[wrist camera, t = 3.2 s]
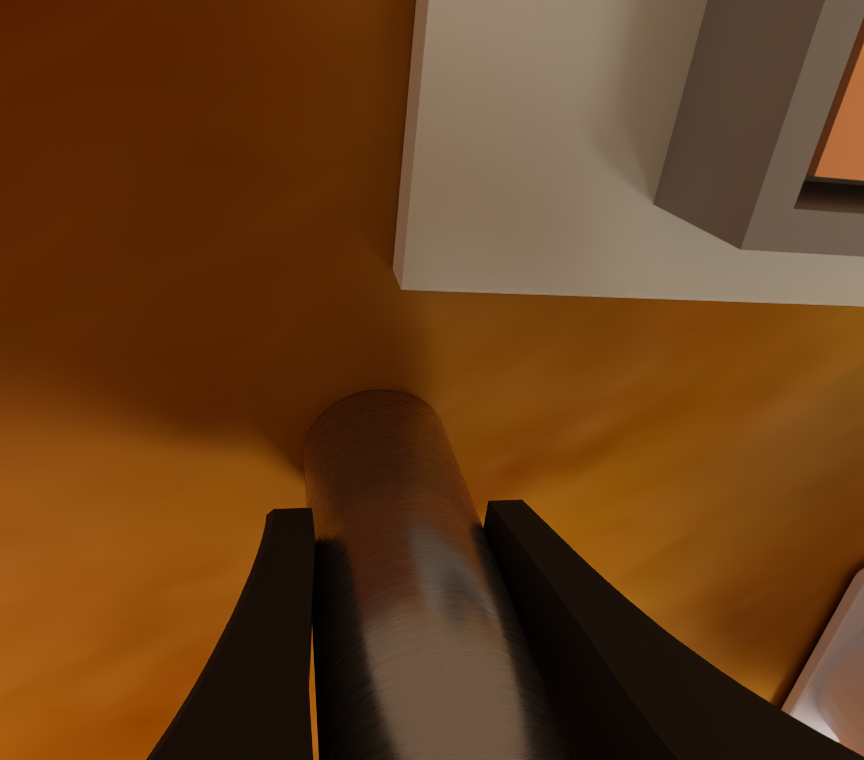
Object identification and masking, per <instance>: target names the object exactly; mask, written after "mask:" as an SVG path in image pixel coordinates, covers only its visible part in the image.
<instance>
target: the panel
mask: <svg viewBox="0 0 864 760" xmlns="http://www.w3.org/2000/svg"><path fill="white" fill-rule="evenodd" d="M863 18H864V0H416V9H415V20H414V32H413V43H412V54H411V66H410V77H409V89H408V100H407V112H406V123H405V134H404V146H403V157H402V169H401V180H400V191H399V203H398V214H397V226H396V237H395V248H394V260H393V272H394V274H395V277H396V279H397V281H398V283H399V286H400V288H401V290H421V291H448V292H476V293H504V294H532V295H560V296H588V297H615V298H643V299H671V300H699V301H727V302H755V303H782V304H810V305H838V306H864V181H862V180H850V179H839V178H828V177H816V176H812V175H808V174H807V171H808V168H809V165H810V163H811V160H812V157H813V154H814V152H815V149H816V146H817V143H818V141H819V138H820V135H821V133H822V130H823V127H824V124H825V122H826V119H827V116H828V113H829V111H830V108H831V105H832V102H833V100H834V97H835V94H836V92H837V89H838V86H839V83H840V81H841V78H842V75H843V72H844V70H845V67H846V64H847V61H848V59H849V56H850V53H851V51H852V48H853V45H854V42H855V40H856V37H857V34H858V31H859V29H860V26H861V23H862V20H863Z"/></svg>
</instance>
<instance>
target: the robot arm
mask: <svg viewBox="0 0 864 760" xmlns="http://www.w3.org/2000/svg"><path fill="white" fill-rule="evenodd" d="M483 529H484V532H485V534H486V537H487V539H488V542H489V544H490V547H491V550H492V552H493V555H494V557H495V560H496V562H497V565H498V567H499V570H500V573H501V575H502V578H503V580H504V583H505V585H506V588H507V591H508V593H509V596H510V598H511V601H512V603H513V606H514V608H515V611H516V614H517V616H518V619H519V621H520V624H521V626H522V629H523V632H524V634H525V637H526V639H527V642H528V644H529V647H530V649H531V652H532V655H533V657H534V660H535V662H536V665H537V667H538V670H539V673H540V675H541V678H542V680H543V683H544V685H545V688H546V690H547V693H548V696H549V698H550V701H551V703H552V706H553V708H554V711H555V713H556V716H557V719H558V721H559V724H560V726H561V729H562V731H563V734H564V737H565V739H566V742H567V744H568V747H569V749H570V752H571V754H572V757H573V760H864V568H863V569H861V570H860V571H859V572H858V573H857V574H856V575H855V577H854V578H853V580H852V582H851V584H850V585H849V587H848V589H847V591H846V593H845V594H844V596H843V598H842V600H841V602H840V603H839V605H838V607H837V609H836V611H835V613H834V614H833V616H832V618H831V620H830V622H829V623H828V625H827V627H826V629H825V631H824V633H823V634H822V636H821V638H820V640H819V642H818V643H817V645H816V647H815V649H814V651H813V652H812V654H811V656H810V658H809V660H808V662H807V663H806V665H805V667H804V669H803V671H802V672H801V674H800V676H799V678H798V680H797V682H796V683H795V685H794V687H793V689H792V691H791V692H790V694H789V696H788V698H787V700H786V701H785V703H784V705H783V707H782V709H779V708H777V707H776V706H774V705H773V704H771V703H769V702H768V701H766V700H765V699H763V698H761V697H760V696H758V695H757V694H755V693H754V692H752V691H750V690H749V689H747V688H746V687H744V686H742V685H741V684H739V683H738V682H736V681H735V680H733V679H732V678H730V677H729V676H727V675H726V674H724V673H723V672H721V671H720V670H719V669H717V668H716V667H714V666H713V665H712V664H710V663H709V662H707V661H706V660H705V659H703V658H702V657H701V656H699V655H698V654H696V653H695V652H694V651H692V650H691V649H689V648H688V647H687V646H685V645H684V644H683V643H681V642H680V641H678V640H677V639H676V638H675V637H673V636H672V635H671V634H669V633H668V632H667V631H666V630H664V629H663V628H662V627H660V626H659V625H658V624H657V623H656V622H654V621H653V620H652V619H651V618H650V617H648V616H647V615H646V614H645V613H643V612H642V611H641V610H640V609H639V608H637V607H636V606H635V605H634V604H633V603H631V602H630V601H629V600H628V599H627V598H626V597H624V596H623V595H622V594H621V593H620V592H619V591H618V590H616V589H615V588H614V587H613V586H612V585H611V584H610V583H609V582H607V581H606V580H605V579H604V578H603V577H602V576H601V575H600V574H599V573H598V572H597V571H595V570H594V569H593V568H592V567H591V566H590V565H589V564H588V563H587V562H586V561H585V560H584V559H583V558H582V557H580V556H579V555H578V554H577V553H576V552H575V551H574V550H573V549H572V548H571V547H570V546H569V545H568V544H567V543H566V542H565V541H564V540H563V539H562V538H561V537H560V536H559V535H558V534H557V533H556V532H555V531H554V530H553V529H552V528H551V527H550V526H549V525H547V524H546V523H545V522H544V521H543V520H542V519H541V518H540V517H539V516H538V515H537V514H536V513H535V512H534V511H533V510H532V509H531V508H530V507H529V506H528V505H527V504H526V503H525V502H524V501H523V500H500V501H488V506H487V512H486V517H485V522H484V527H483ZM314 556H315V530H314V521H313V512H312V508H292V509H273V510H272V511H271V512H270V513H269V514H267V516H266V524H265V529H264V533H263V537H262V540H261V544H260V547H259V550H258V553H257V556H256V559H255V561H254V564H253V567H252V570H251V572H250V575H249V577H248V579H247V582H246V584H245V586H244V589H243V591H242V593H241V596H240V598H239V600H238V602H237V605H236V607H235V609H234V611H233V614H232V616H231V618H230V620H229V622H228V624H227V625H226V627H225V629H224V631H223V633H222V635H221V637H220V639H219V641H218V643H217V645H216V647H215V649H214V651H213V653H212V655H211V657H210V658H209V660H208V662H207V664H206V666H205V667H204V669H203V671H202V673H201V674H200V676H199V678H198V680H197V681H196V683H195V685H194V687H193V688H192V690H191V692H190V693H189V695H188V697H187V698H186V700H185V701H184V703H183V705H182V706H181V708H180V709H179V711H178V713H177V714H176V716H175V718H174V719H173V721H172V722H171V724H170V725H169V727H168V728H167V730H166V731H165V733H164V734H163V736H162V737H161V739H160V740H159V742H158V743H157V745H156V746H155V748H154V749H153V750H152V752H151V753H150V755H149V756H148V758H147V759H146V760H313V749H312V733H311V717H310V699H309V677H310V660H311V635H312V603H313V583H314ZM838 742H841V743H842V744H840V743H838Z"/></svg>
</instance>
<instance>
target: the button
mask: <svg viewBox="0 0 864 760" xmlns="http://www.w3.org/2000/svg"><path fill="white" fill-rule="evenodd" d="M807 174H808V175H812V176H816V177H828V178H839V179H850V180H862V181H864V18H863V20H862V23H861V26H860V29H859V31H858V34H857V37H856V40H855V42H854V45H853V48H852V51H851V53H850V56H849V59H848V61H847V64H846V67H845V70H844V72H843V75H842V78H841V81H840V83H839V86H838V89H837V92H836V94H835V97H834V100H833V102H832V105H831V108H830V111H829V113H828V116H827V119H826V122H825V124H824V127H823V130H822V133H821V135H820V138H819V141H818V143H817V146H816V149H815V152H814V154H813V157H812V160H811V163H810V165H809V168H808V171H807Z"/></svg>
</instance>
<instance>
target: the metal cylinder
mask: <svg viewBox="0 0 864 760" xmlns="http://www.w3.org/2000/svg"><path fill="white" fill-rule="evenodd" d="M304 470H305V490H306V508H312V512H313V521H314V530H315V556H314V583H313V603H312V629H313V649H314V669H315V689H316V709H317V729H318V748H319V760H573V757H572V754H571V752H570V749H569V747H568V744H567V742H566V739H565V737H564V734H563V731H562V729H561V726H560V724H559V721H558V719H557V716H556V713H555V711H554V708H553V706H552V703H551V701H550V698H549V696H548V693H547V690H546V688H545V685H544V683H543V680H542V678H541V675H540V673H539V670H538V667H537V665H536V662H535V660H534V657H533V655H532V652H531V649H530V647H529V644H528V642H527V639H526V637H525V634H524V632H523V629H522V626H521V624H520V621H519V619H518V616H517V614H516V611H515V608H514V606H513V603H512V601H511V598H510V596H509V593H508V591H507V588H506V585H505V583H504V580H503V578H502V575H501V573H500V570H499V567H498V565H497V562H496V560H495V557H494V555H493V552H492V550H491V547H490V544H489V542H488V539H487V537H486V534H485V532H484V529H483V526H482V524H481V521H480V519H479V516H478V514H477V511H476V509H475V506H474V503H473V501H472V498H471V496H470V493H469V491H468V488H467V485H466V483H465V480H464V478H463V475H462V473H461V470H460V468H459V465H458V462H457V460H456V457H455V455H454V452H453V450H452V447H451V445H450V442H449V439H448V437H447V434H446V432H445V429H444V427H443V424H442V422H441V420H440V419H439V417H438V415H437V414H436V413H435V412H434V411H433V410H432V408H430V407H429V406H428V405H427V404H426V403H424V402H423V401H421V400H420V399H418V398H416V397H414V396H411V395H409V394H406V393H402V392H398V391H392V390H372V391H366V392H361V393H358V394H354V395H351V396H349V397H347V398H344V399H342V400H340V401H339V402H337V403H335V404H334V405H332V406H331V407H330V408H328V409H327V410H326V411H325V412H324V413H323V414H322V415H321V416H320V417H319V418H318V419H317V420H316V422H315V423H314V425H313V426H312V428H311V429H310V431H309V434H308V436H307V438H306V442H305V446H304Z"/></svg>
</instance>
